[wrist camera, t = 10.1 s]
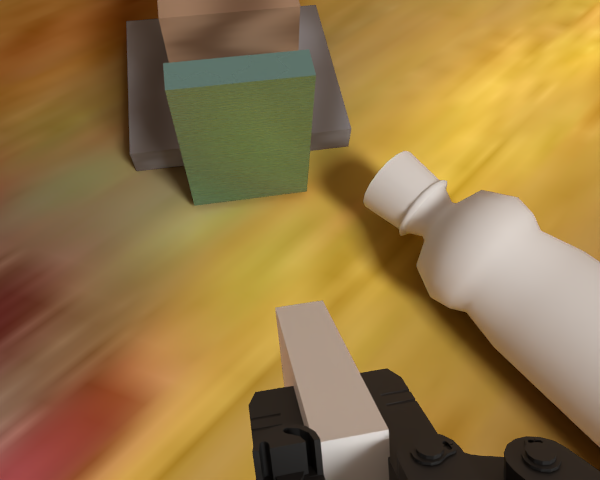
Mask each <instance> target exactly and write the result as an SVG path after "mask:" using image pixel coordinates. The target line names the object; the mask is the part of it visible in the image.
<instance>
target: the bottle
mask: <svg viewBox="0 0 600 480" xmlns="http://www.w3.org/2000/svg"><path fill="white" fill-rule="evenodd" d="M446 187H447V181H445V180H441V181H440V180H439V179H438V178H436V177H435V176H434V175H433V174H432V173H431V172H430V171H429V170H428V169H427V168H426V167H425V166H424V165H423V164H422V163H421V162H420V161H419V160H418V159H417V158H416V157H414V156H413V155H412V154H411V153H410V152H408V151H403V152H401V153H399V154H397V155H396V156H394V157H393V158H392V159H391V160H389V161H388V162H387V163H386V164H385V165H384V166H383V167H382V168H381V170H380V171H379V172H378V173H377V174H376V176H375V177H374V179H373V180H372V181H371V183H370V184H369V186H368V188H367V190H366V192H365V195H364V200H363V203H364V205H365V207H367V208H368V209H370V210H371V211H373V212H374V213H376V214H377V215H379V216H380V217H382V218H383V219H385V220H386V221H388V222H389V223H391V224H392V225H394V226H395V227H397V228H398V229H399V233H400V236H402V235H406V234H408V233H410V234H415V235H419V236H423V239H424V244H423V247H422V250H421V253H420V256H419V259H418V261H417V264H416V266H417V269H418V271H419V274H420V276H421V278H422V280H423V282H424V285H425V287H426V289H427V291H428V294H429V296H430V297H431V298H433V299H434V300H436V301H438V302H439V303H441V304H443V305H445V306H446V307H448V308H450V309H455V310H459V311H463V312H466V313H467V314H468V315H469V316H470V318H471V319H472V320H473V321H474V323H475V324H476V325H477V326H478V328H479V329H480V330H481V332H482V333H483V334H484V335H485V337H486V338H487V339H488V340H489V342H490V343H491V344H492V345H493V347H494V348H495V349H496V350H497V351H498V352H499V353H501V354H502V355H503V356H504V357H505V358H506V359H507V360H508V361H509V362H510V363H511V364H512V365H513V366H514V367H515V368H516V369H517V370H518V371H520V372H521V373H522V374H523V375H524V376H525V377H526V378H527V379H528V380H529V381H530V382H531V383H532V384H533V385H534V386H535V387H536V388H537V389H539V390H540V391H541V392H542V393H543V394H544V395H545V396H546V397H547V398H548V399H549V400H550V401H551V402H552V403H553V404H554V405H555V406H556V407H558V408H559V409H560V410H561V411H562V412H563V413H564V414H565V415H566V416H567V417H568V418H569V419H570V420H571V421H572V422H573V423H574V424H575V425H576V426H578V427H579V428H580V429H581V430H582V431H583V432H584V433H585V434H586V435H587V436H588V437H589V438H590V439H591V440H592V441H593V442H594V443H595V444H597V445H598V446H599V447H600V262H599V261H598V260H596V259H595V258H593V257H592V256H590V255H589V254H587V253H586V252H584V251H582V250H580V249H578V248H576V247H574V246H572V245H570V244H568V243H565V242H563V241H561V240H559V239H557V238H555V237H553V236H551V235H549V234H547V233H545V232H543V231H541V230H540V228H539V226H538V223H537V221H536V219H535V217H534V214H533V213H532V212H531V211H530V210H529V209H528V208H527V207H526V206H525V204H524V203H523V202H522V201H521V200H520V199H519V198H518V197H513V196H508V195H503V194H499V193H494V192H489V191H483V190H481V191H479V192H477V193H475V194H473V195H471V196H470V197H468V198H466V199H464V200H462V201H460V202H458V203H452V202H451V200H450V198H449V195H448V193H447V191H446Z"/></svg>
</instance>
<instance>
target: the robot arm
mask: <svg viewBox="0 0 600 480" xmlns="http://www.w3.org/2000/svg"><path fill="white" fill-rule="evenodd" d="M275 309H276V318H277V326H278V335H279V344H280V353H281V361H282V370H283V379H284V386H285V387H283V388H277V389H272V390H266V391H260V392H255V394H254V396H253V398H252V400H251V402H250V404H249V412H250V420H251V430H252V438H253V451H252V452H253V459H254V466H255V473H256V480H600V471H599V470H597V469H596V468H594V467H593V466H592V465H590V464H589V463H587V462H586V461H584V460H583V459H582V458H580V457H579V456H577V455H576V454H575V453H573V452H572V451H570V450H569V449H567V448H566V447H564V446H562V445H560V444H559V443H557V442H555V441H552V440H549V439H545V438H541V437H527V436H526V437H522V438H517V439H514V440H513V441H512V442H510V443H509V444H507V446H506V449H505V451H504V457H493V456H478V455H470V454H467V453H464V452H463V451H462V449H461V448H460V447H459V446H458V445H457V444H456V443H455V442H454V441H453V440H451V439H449V438H447V437H445V436H443V435H440V434H437V432H436V430H435V429H434V427H433V426H432V424H431V423H430V421H429V420H428V418H427V417H426V415H425V413H424V412H423V410H422V409H421V407H420V406H419V404H418V403H417V401H415V398H414V396H413V395H412V393H411V392H409V389H408V387H407V386H406V384H405V383H404V381H403V379H402V378H401V377H400V376H398V375H397V374H395V373H393V372H392V371H390V370H389V369H381V370H375V371H369V372H363V373H359V371H358V369H357V367H356V365H355V363H354V361H353V359H352V357H351V355H350V353H349V351H348V349H347V347H346V345H345V343H344V341H343V340H342V338H341V336H340V334H339V332H338V330H337V328H336V326H335V324H334V322H333V320H332V318H331V316H330V314H329V312H328V310H327V308H326V306H325V304H324V302H323V301H316V302H310V303H303V304H296V305H290V306H283V307H277V308H275Z"/></svg>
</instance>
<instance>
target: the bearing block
mask: <svg viewBox="0 0 600 480" xmlns="http://www.w3.org/2000/svg"><path fill="white" fill-rule="evenodd" d="M157 3H158V17H159V19H147V20H136V21H126V28H127V66H128V104H129V142H130V156H131V158H132V161H133V163H134V166H135V169H136V171H142V170H150V169H159V168H167V167H176V166H184V163H183V159H182V155H181V151H180V147H179V143H178V139H177V135H176V131H175V127H174V124H173V120H172V116H171V112H170V108H169V104H168V100H167V96H166V92H165V84H164V70H163V63H171V62H182V61H192V60H203V59H213V58H224V57H234V56H245V55H255V54H266V53H276V52H287V51H297V50H307V49H309V50H310V54H311V58H312V62H313V66H314V69H315V73H316V81H315V94H314V106H313V119H312V131H311V144H310V151H312V150H320V149H329V148H337V147H346V146H348V144H349V139H350V133H351V126H350V123H349V119H348V116H347V112H346V109H345V105H344V102H343V98H342V95H341V91H340V88H339V85H338V81H337V78H336V74H335V71H334V67H333V64H332V60H331V57H330V53H329V50H328V46H327V43H326V39H325V36H324V32H323V29H322V25H321V22H320V18H319V15H318V11H317V8H316V5H310V6H300V4H299V0H157Z"/></svg>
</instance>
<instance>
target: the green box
mask: <svg viewBox="0 0 600 480" xmlns="http://www.w3.org/2000/svg"><path fill="white" fill-rule="evenodd" d="M163 70H164V84H165V92H166V96H167V100H168V104H169V108H170V112H171V116H172V120H173V124H174V127H175V131H176V135H177V139H178V143H179V147H180V151H181V155H182V159H183V163H184V166H185V170H186V174H187V178H188V182H189V186H190V190H191V194H192V198H193V202H194V205H203V204H210V203H218V202H226V201H234V200H242V199H250V198H258V197H266V196H274V195H282V194H289V193H297V192H305V191H307V181H308V169H309V156H310V144H311V131H312V119H313V106H314V94H315V81H316V73H315V69H314V66H313V62H312V58H311V54H310V50H309V49H307V50H297V51H287V52H276V53H266V54H255V55H245V56H234V57H224V58H213V59H203V60H192V61H182V62H171V63H163Z"/></svg>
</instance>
